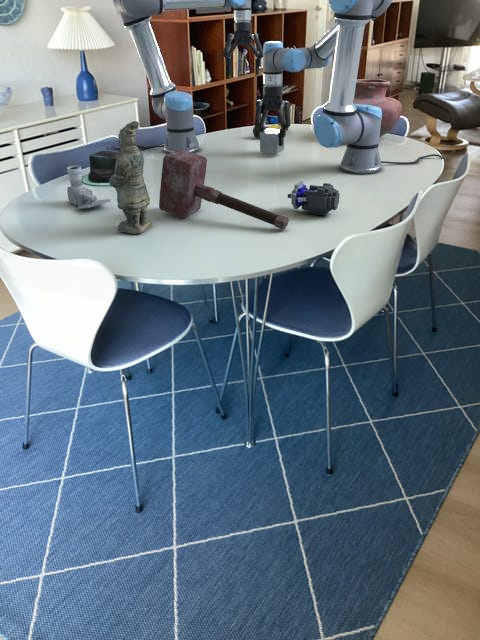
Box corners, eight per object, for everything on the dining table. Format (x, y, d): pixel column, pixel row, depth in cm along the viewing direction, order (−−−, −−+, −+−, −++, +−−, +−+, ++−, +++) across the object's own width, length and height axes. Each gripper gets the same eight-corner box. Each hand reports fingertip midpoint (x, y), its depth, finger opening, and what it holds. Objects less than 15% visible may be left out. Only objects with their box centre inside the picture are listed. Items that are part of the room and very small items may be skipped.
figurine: (296, 120, 270) (269, 123, 251) (294, 136, 273) (268, 140, 254) (273, 118, 276) (245, 120, 257) (271, 134, 279) (244, 137, 260)
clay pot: (396, 132, 265) (403, 75, 252) (401, 147, 239) (409, 84, 227) (332, 131, 270) (336, 75, 257) (330, 145, 244) (333, 84, 232)
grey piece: (79, 162, 182) (107, 171, 173) (85, 197, 188) (112, 207, 179) (56, 168, 176) (83, 177, 167) (62, 204, 182) (89, 214, 173)
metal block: (267, 147, 237) (267, 128, 233) (284, 149, 234) (284, 129, 230) (259, 152, 230) (259, 132, 226) (277, 153, 227) (277, 133, 223)
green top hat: (70, 181, 201) (92, 168, 218) (116, 207, 203) (134, 192, 220) (83, 145, 193) (105, 134, 211) (131, 172, 195) (148, 159, 212)
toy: (295, 178, 172) (342, 184, 166) (295, 205, 177) (340, 211, 171) (285, 186, 166) (333, 192, 160) (284, 213, 170) (331, 220, 164)
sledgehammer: (299, 190, 156) (179, 147, 167) (285, 200, 148) (161, 154, 160) (286, 244, 166) (174, 200, 177) (272, 256, 158) (156, 209, 170)
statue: (131, 220, 168) (117, 116, 152) (158, 224, 164) (147, 118, 149) (109, 233, 159) (93, 124, 144) (138, 237, 156) (124, 126, 140)
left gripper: (213, 22, 244) (215, 74, 255) (266, 21, 235) (265, 76, 246) (220, 21, 250) (222, 72, 260) (272, 20, 241) (272, 74, 251)
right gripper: (245, 85, 220) (246, 144, 231) (294, 87, 213) (292, 148, 224) (252, 83, 226) (252, 140, 237) (300, 84, 218) (298, 144, 230)
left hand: (243, 74), depth 253 cm, fingers open, 13 cm apart
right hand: (272, 144), depth 231 cm, fingers closed on metal block, 7 cm apart
